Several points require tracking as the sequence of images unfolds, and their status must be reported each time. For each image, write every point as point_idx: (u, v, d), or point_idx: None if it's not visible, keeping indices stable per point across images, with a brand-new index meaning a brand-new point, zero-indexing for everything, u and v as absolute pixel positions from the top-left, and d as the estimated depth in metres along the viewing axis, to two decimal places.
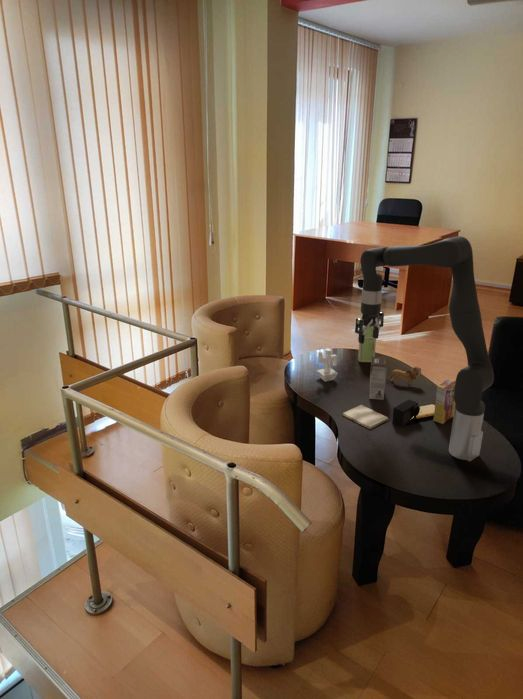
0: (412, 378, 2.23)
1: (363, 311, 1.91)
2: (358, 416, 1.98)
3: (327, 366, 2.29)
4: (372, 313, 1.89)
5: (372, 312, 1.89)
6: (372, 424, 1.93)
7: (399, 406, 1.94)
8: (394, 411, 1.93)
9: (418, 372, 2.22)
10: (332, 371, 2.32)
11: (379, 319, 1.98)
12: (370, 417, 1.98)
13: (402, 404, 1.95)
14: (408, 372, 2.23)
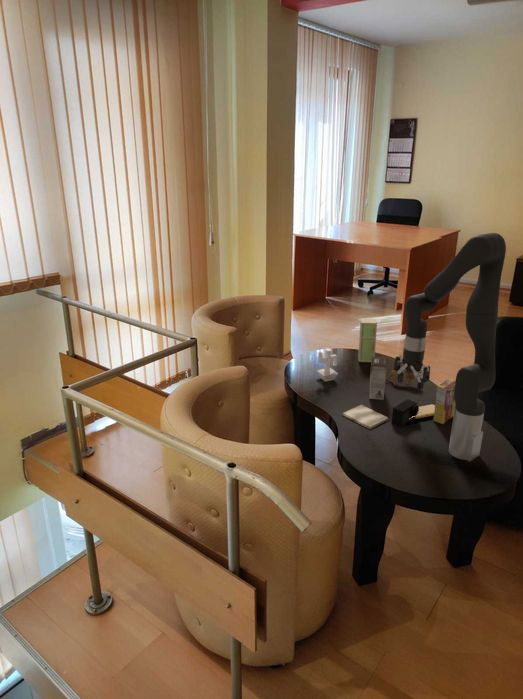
0: (411, 378, 2.23)
1: (421, 359, 1.83)
2: (358, 416, 1.98)
3: (327, 366, 2.29)
4: None
5: None
6: (372, 424, 1.93)
7: (398, 406, 1.94)
8: (393, 411, 1.93)
9: (417, 372, 2.22)
10: (332, 371, 2.32)
11: (399, 363, 1.92)
12: (370, 417, 1.98)
13: (401, 404, 1.95)
14: (407, 372, 2.23)
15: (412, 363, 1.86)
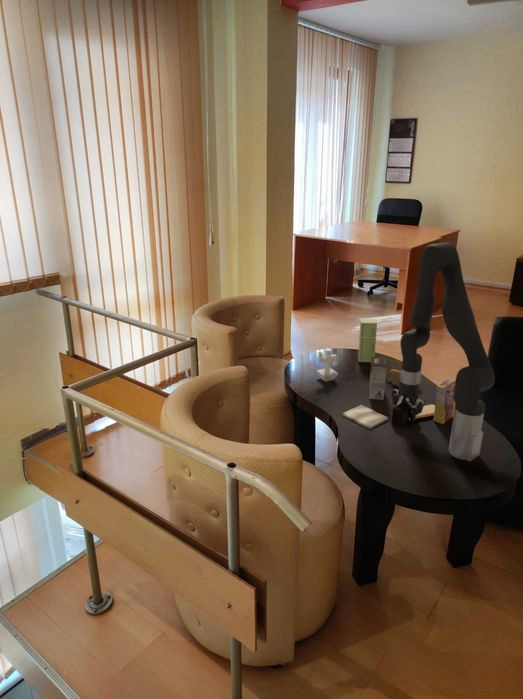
0: None
1: (416, 391, 1.88)
2: (358, 416, 1.98)
3: (327, 366, 2.29)
4: None
5: None
6: (372, 424, 1.93)
7: (398, 406, 1.93)
8: (393, 411, 1.93)
9: None
10: (332, 371, 2.32)
11: (396, 396, 1.97)
12: (370, 417, 1.98)
13: (401, 404, 1.95)
14: None
15: (408, 395, 1.91)
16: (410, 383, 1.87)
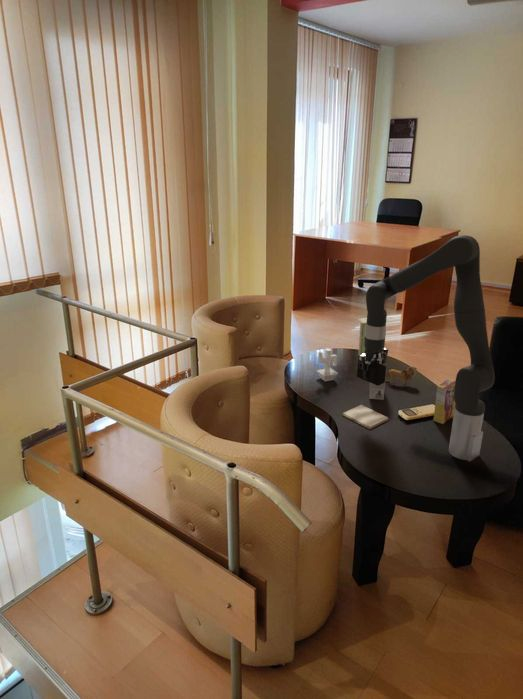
0: (408, 378, 2.23)
1: None
2: (358, 416, 1.98)
3: (327, 366, 2.29)
4: None
5: None
6: (372, 424, 1.93)
7: (375, 366, 1.87)
8: (379, 372, 1.86)
9: (414, 372, 2.22)
10: (332, 371, 2.32)
11: None
12: (370, 417, 1.98)
13: None
14: (404, 372, 2.24)
15: (377, 351, 1.88)
16: None
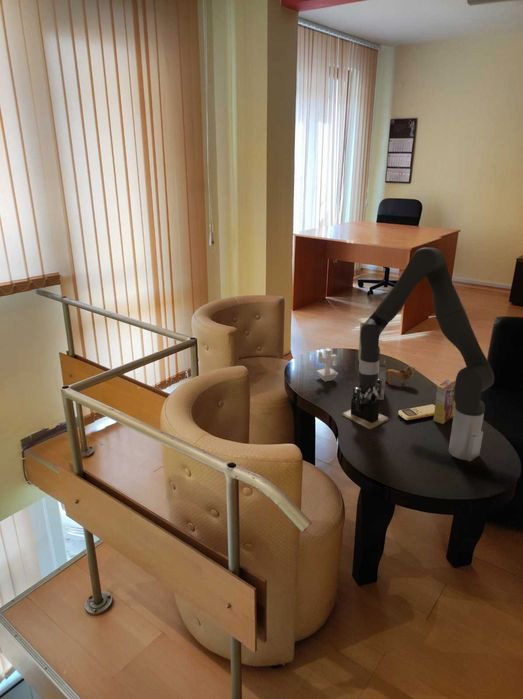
0: (406, 378, 2.23)
1: None
2: None
3: (327, 366, 2.29)
4: None
5: None
6: (372, 424, 1.93)
7: (369, 404, 1.93)
8: (373, 410, 1.92)
9: (412, 371, 2.22)
10: (332, 371, 2.32)
11: None
12: None
13: (364, 402, 1.95)
14: (402, 372, 2.24)
15: (371, 384, 1.94)
16: (378, 370, 1.91)
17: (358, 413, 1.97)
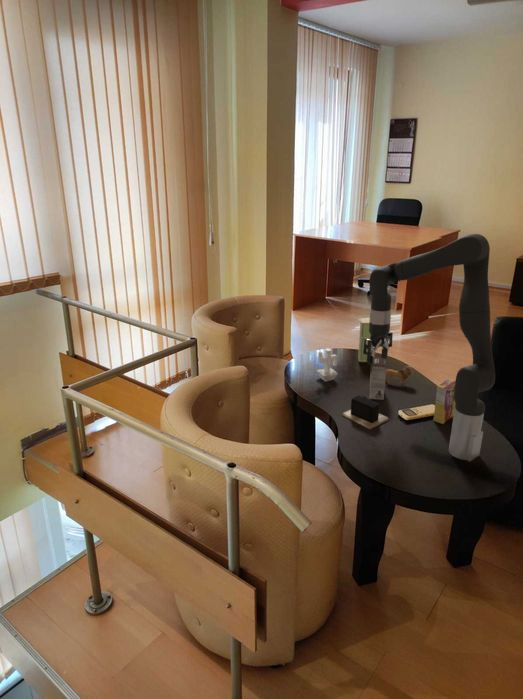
0: (404, 378, 2.23)
1: None
2: None
3: (327, 366, 2.29)
4: None
5: None
6: (372, 424, 1.93)
7: (369, 404, 1.93)
8: (373, 410, 1.92)
9: (411, 371, 2.22)
10: (332, 371, 2.32)
11: None
12: None
13: (364, 402, 1.94)
14: (401, 372, 2.24)
15: (382, 336, 1.87)
16: None
17: (358, 413, 1.97)
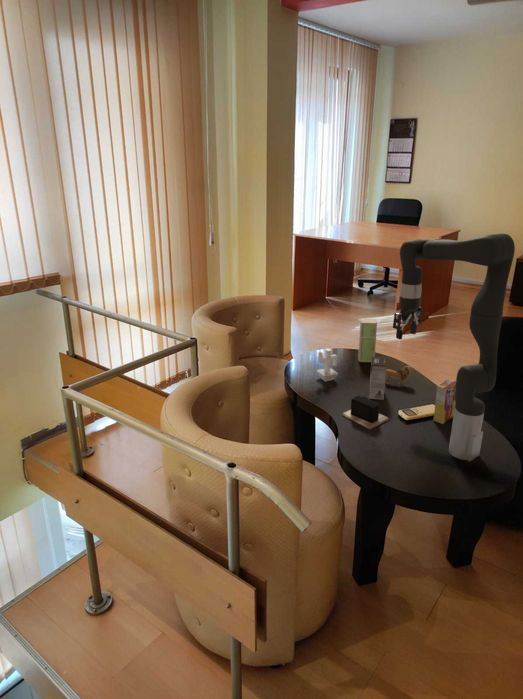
0: (403, 378, 2.23)
1: None
2: None
3: (327, 366, 2.29)
4: None
5: None
6: (372, 424, 1.93)
7: (369, 404, 1.93)
8: (374, 410, 1.92)
9: (409, 371, 2.22)
10: (332, 371, 2.32)
11: None
12: None
13: (364, 402, 1.94)
14: (399, 372, 2.24)
15: (412, 311, 1.86)
16: (420, 294, 1.83)
17: (358, 414, 1.97)
